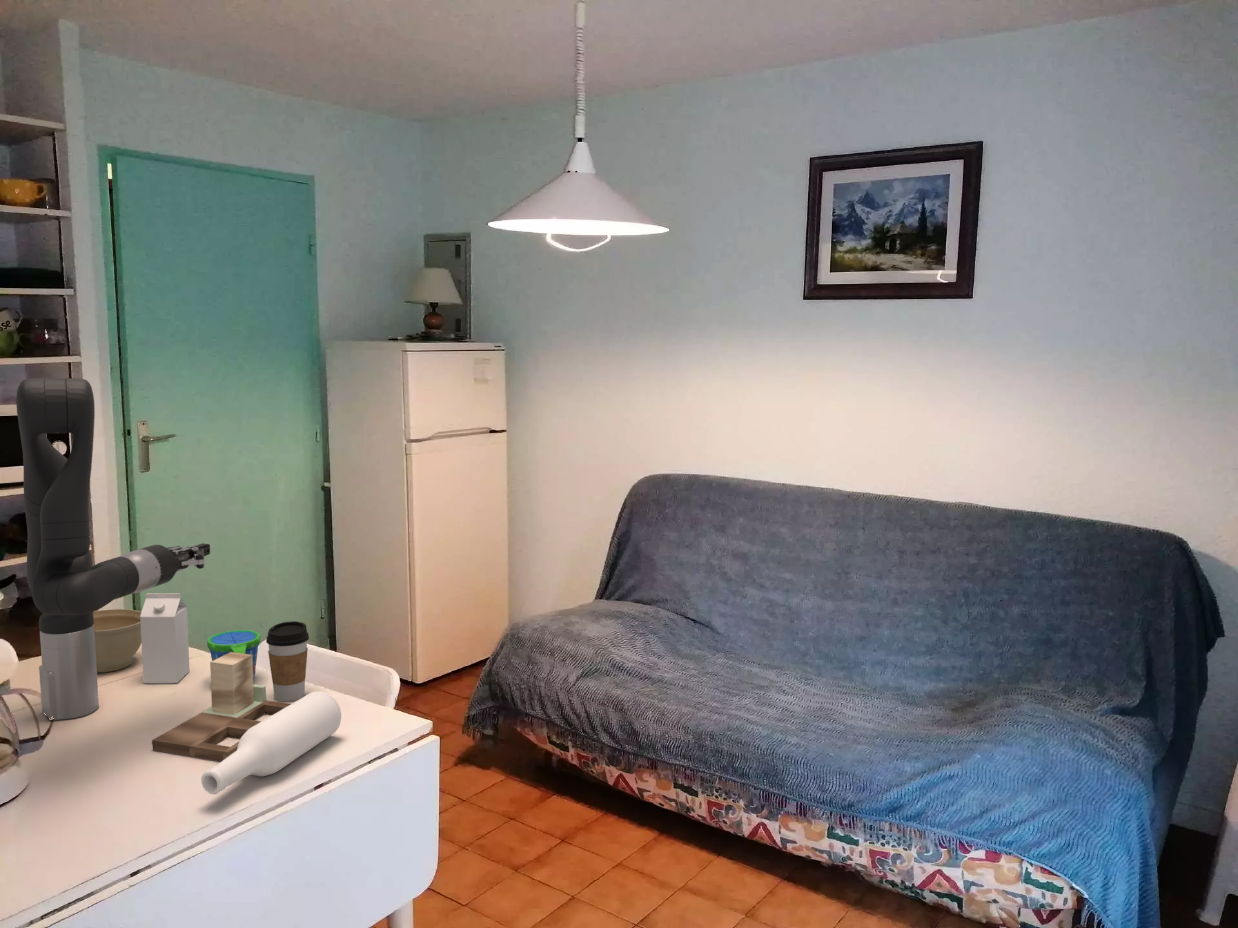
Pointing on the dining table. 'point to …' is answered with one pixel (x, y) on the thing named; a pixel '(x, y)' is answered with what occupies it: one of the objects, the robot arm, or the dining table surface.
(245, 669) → the maple block
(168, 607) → the milk carton
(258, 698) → the green l-shaped block
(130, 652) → the planter bowl
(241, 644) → the snack cup
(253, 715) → the brown wooden flat frame
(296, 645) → the coffee cup
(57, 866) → the dining table surface
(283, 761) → the alcohol
